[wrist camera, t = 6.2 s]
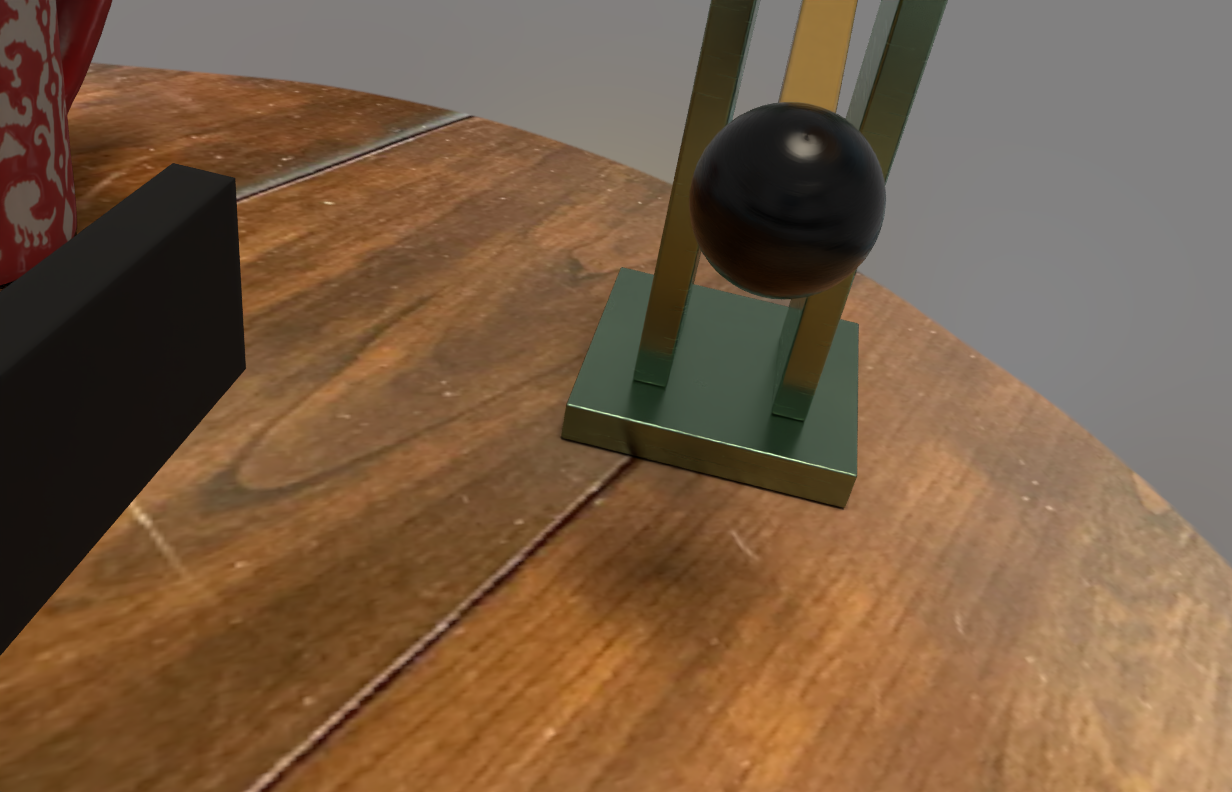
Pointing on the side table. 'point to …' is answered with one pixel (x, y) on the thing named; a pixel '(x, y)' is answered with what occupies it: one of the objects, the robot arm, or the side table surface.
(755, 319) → the switch bracket
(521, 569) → the side table surface
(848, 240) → the switch lever
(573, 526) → the side table surface
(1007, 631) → the side table surface
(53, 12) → the mug
